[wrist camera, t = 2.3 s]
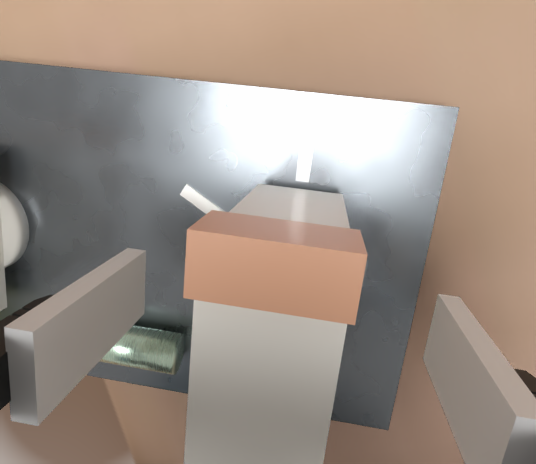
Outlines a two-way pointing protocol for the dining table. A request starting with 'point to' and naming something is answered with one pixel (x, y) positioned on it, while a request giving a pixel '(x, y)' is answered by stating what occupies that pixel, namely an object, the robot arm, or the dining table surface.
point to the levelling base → (216, 200)
